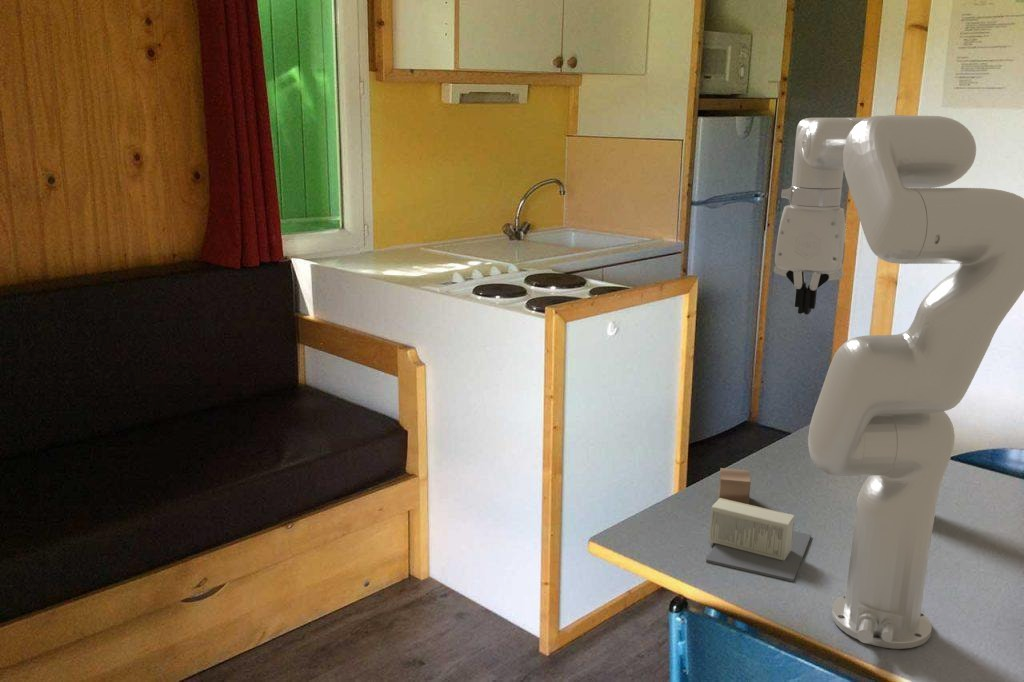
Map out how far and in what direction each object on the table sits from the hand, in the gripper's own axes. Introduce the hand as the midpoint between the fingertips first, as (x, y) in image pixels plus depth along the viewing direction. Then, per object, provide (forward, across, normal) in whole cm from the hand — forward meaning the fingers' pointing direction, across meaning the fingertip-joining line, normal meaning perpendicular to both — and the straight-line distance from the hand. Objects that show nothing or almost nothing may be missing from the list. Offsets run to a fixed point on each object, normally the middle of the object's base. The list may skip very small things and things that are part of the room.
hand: (804, 312), depth 150 cm
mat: (+35, -1, -16) cm, 39 cm away
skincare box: (+32, -9, -16) cm, 36 cm away
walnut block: (+35, -9, 0) cm, 36 cm away
